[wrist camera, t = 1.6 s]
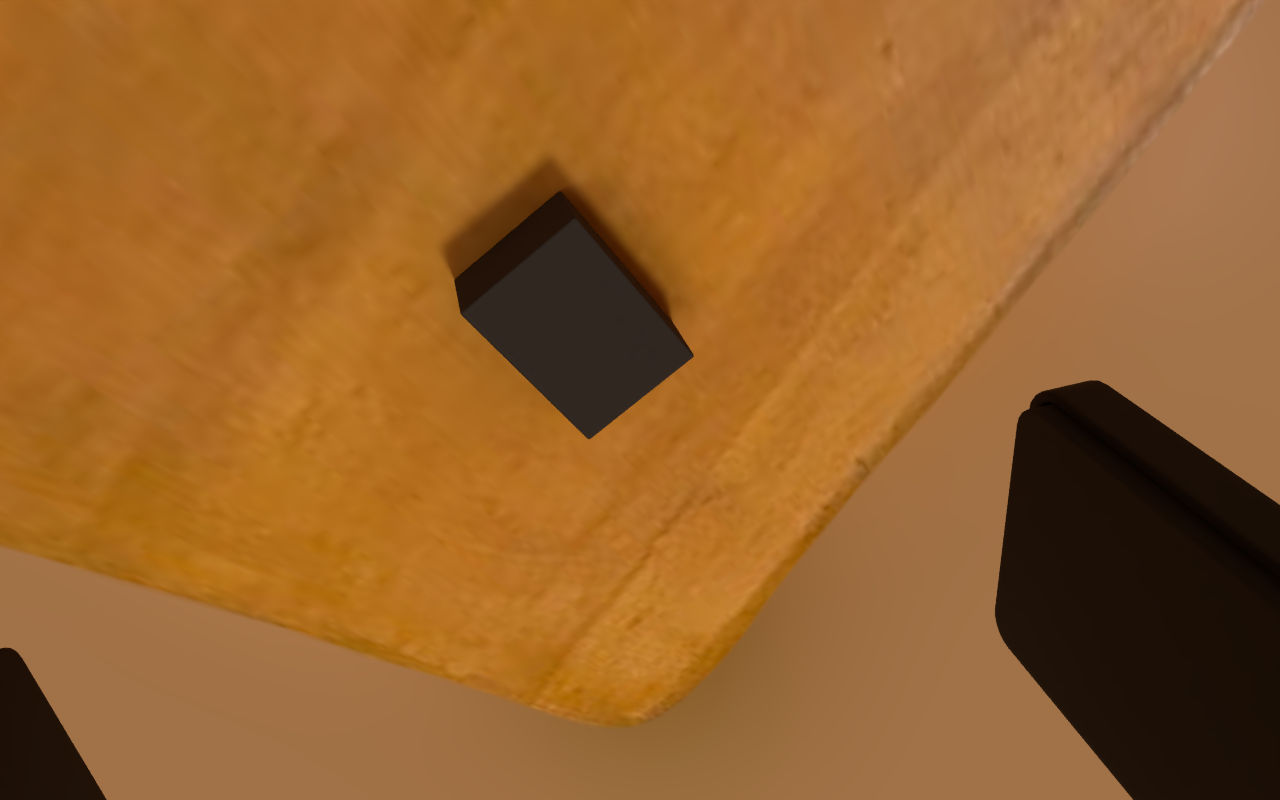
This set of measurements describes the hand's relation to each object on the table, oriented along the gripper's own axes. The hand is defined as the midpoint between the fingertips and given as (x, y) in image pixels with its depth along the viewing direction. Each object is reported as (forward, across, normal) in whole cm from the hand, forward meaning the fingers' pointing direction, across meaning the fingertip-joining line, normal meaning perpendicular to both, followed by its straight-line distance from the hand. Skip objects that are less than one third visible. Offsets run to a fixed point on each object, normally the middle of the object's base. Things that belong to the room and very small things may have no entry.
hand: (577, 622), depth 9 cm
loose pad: (+26, -3, +8) cm, 27 cm away
